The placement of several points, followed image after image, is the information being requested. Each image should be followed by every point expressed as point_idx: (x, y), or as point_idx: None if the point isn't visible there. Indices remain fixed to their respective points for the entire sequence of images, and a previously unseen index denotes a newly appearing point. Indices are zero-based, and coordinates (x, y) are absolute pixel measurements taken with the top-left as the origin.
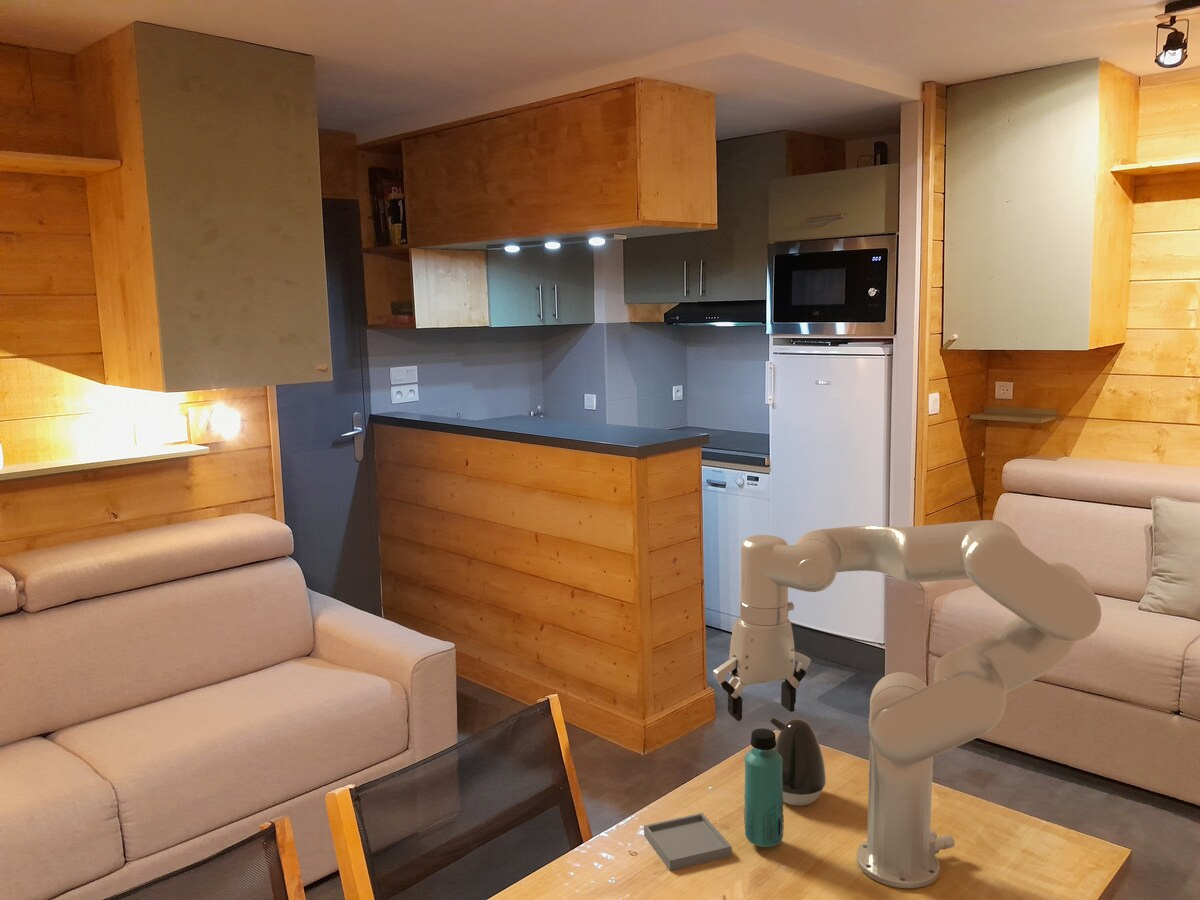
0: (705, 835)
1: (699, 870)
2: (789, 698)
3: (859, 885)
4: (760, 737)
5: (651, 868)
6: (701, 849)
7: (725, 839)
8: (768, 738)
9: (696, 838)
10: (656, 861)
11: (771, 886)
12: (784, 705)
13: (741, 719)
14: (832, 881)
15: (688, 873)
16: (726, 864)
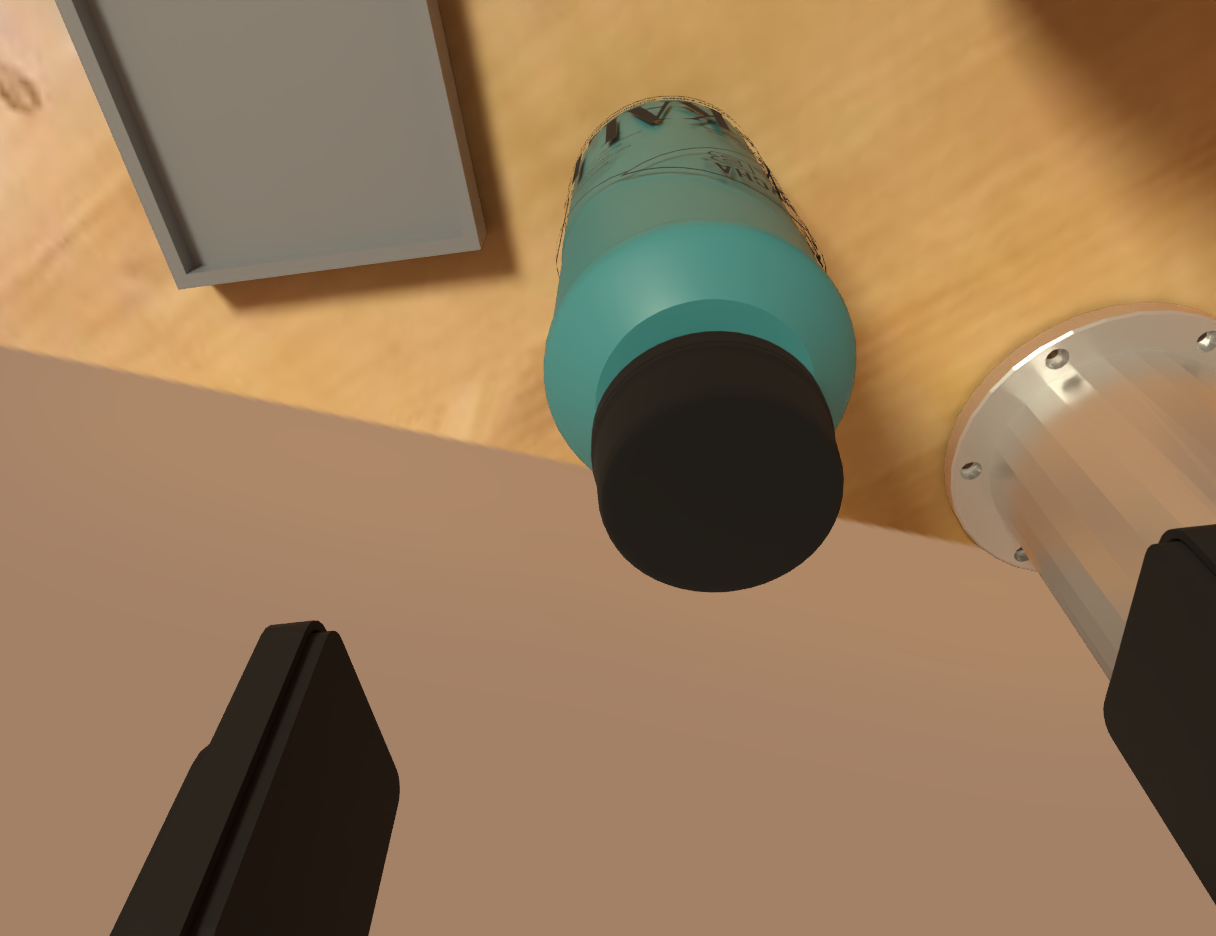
0: (386, 79)
1: (327, 295)
2: (1210, 870)
3: (883, 503)
4: (651, 572)
5: (115, 233)
6: (345, 200)
7: (466, 189)
8: (722, 590)
9: (334, 98)
10: None
11: None
12: (1144, 630)
13: (397, 784)
14: None
15: (278, 303)
16: (450, 282)
